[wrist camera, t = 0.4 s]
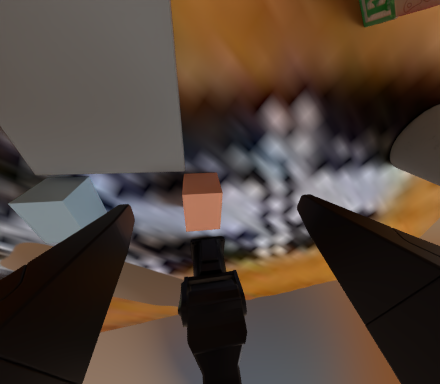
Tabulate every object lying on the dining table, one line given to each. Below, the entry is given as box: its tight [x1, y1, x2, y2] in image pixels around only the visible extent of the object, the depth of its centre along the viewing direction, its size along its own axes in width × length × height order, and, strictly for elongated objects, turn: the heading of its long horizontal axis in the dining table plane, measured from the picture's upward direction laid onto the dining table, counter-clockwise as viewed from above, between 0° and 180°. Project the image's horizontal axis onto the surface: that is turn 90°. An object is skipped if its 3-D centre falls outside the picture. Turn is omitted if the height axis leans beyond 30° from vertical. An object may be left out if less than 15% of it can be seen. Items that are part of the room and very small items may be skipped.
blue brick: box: [8, 176, 107, 244], centre depth 19 cm, size 6×4×5 cm
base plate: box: [0, 0, 185, 175], centre depth 14 cm, size 16×16×1 cm
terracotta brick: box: [182, 173, 223, 232], centre depth 21 cm, size 6×4×5 cm
